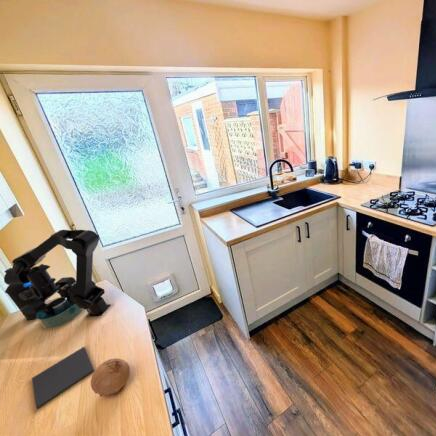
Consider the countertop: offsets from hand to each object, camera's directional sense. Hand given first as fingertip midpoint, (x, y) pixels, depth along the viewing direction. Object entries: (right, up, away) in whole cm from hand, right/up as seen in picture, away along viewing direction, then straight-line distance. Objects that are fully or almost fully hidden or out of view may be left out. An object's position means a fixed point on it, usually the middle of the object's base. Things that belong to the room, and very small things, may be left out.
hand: (60, 309), depth 104 cm
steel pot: (0, -3, +1) cm, 3 cm away
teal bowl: (0, -3, +1) cm, 4 cm away
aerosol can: (-14, -4, +4) cm, 15 cm away
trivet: (+24, -12, -24) cm, 36 cm away
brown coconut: (+45, -12, -29) cm, 55 cm away
